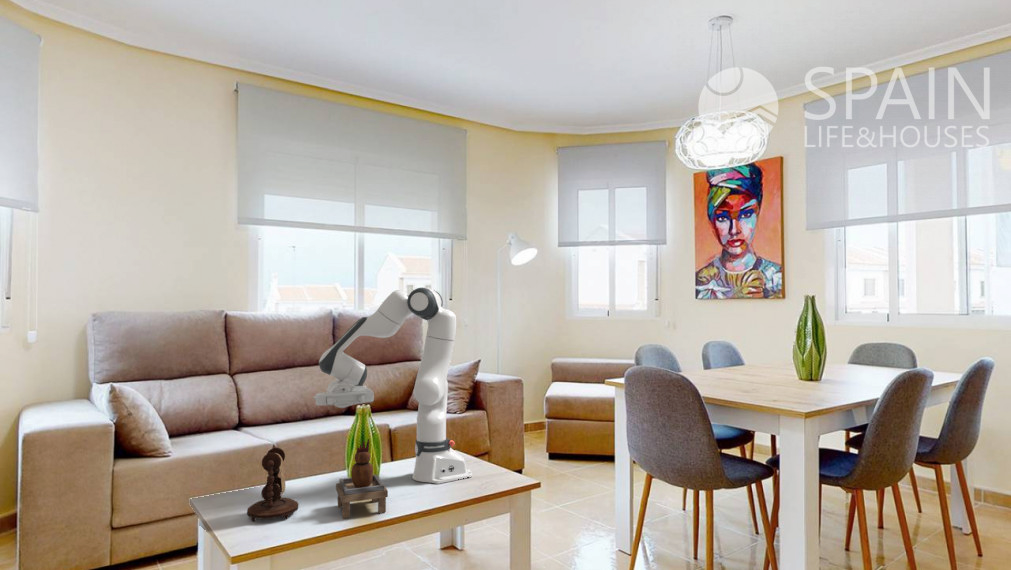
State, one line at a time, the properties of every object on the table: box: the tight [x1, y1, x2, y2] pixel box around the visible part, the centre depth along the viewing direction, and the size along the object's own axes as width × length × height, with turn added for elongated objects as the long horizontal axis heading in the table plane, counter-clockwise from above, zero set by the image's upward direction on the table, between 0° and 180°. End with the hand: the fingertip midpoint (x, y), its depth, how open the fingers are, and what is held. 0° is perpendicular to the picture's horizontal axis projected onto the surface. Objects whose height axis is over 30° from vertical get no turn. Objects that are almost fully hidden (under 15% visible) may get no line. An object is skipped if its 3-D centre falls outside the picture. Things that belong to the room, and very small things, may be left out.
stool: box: [335, 474, 389, 520], centre depth 184 cm, size 14×14×8 cm
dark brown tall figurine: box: [246, 447, 299, 523], centre depth 179 cm, size 15×15×20 cm
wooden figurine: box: [350, 438, 374, 488], centre depth 184 cm, size 7×6×15 cm
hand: (347, 400), depth 199 cm, fingers open, 8 cm apart
